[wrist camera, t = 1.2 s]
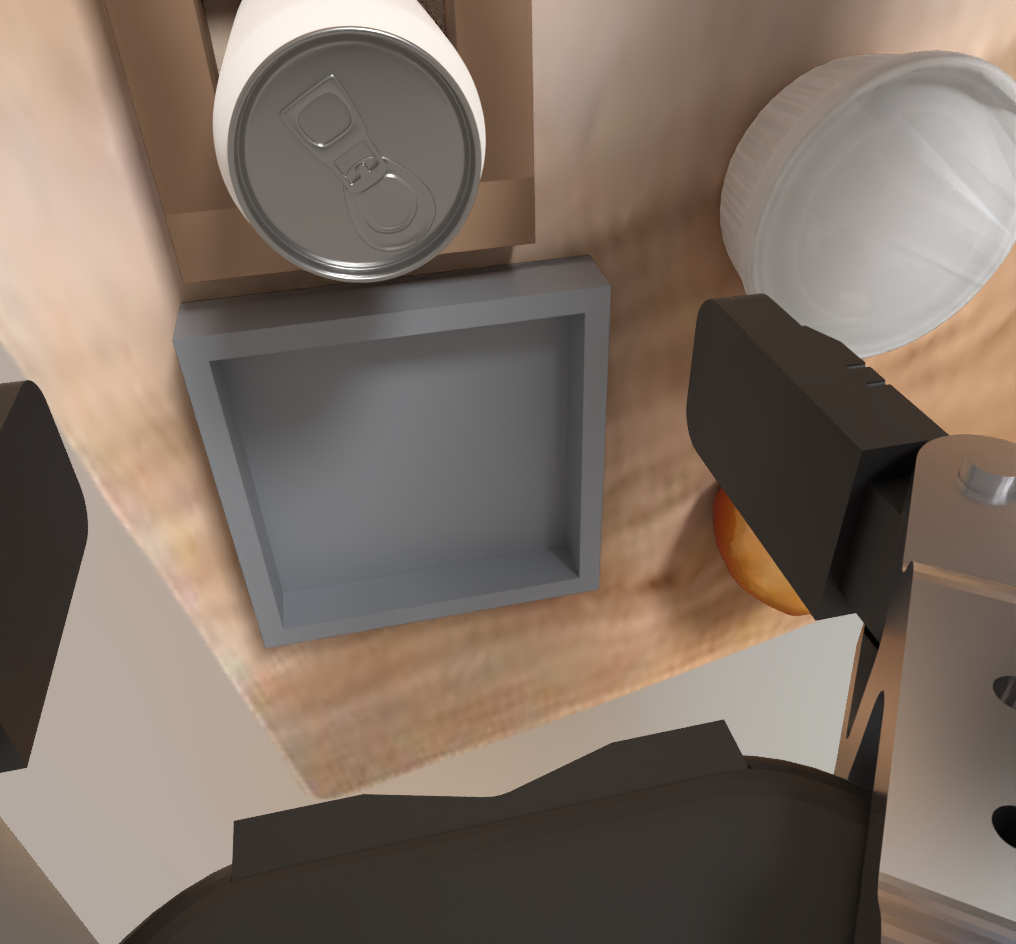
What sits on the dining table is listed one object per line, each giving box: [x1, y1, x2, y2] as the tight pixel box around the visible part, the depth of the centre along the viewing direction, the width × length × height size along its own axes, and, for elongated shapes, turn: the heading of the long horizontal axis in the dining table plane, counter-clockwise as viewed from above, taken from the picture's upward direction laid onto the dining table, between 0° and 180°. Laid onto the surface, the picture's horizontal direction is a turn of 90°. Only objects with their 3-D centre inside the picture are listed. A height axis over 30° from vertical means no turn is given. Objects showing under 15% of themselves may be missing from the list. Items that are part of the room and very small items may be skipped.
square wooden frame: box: [104, 0, 535, 283], centre depth 28 cm, size 12×12×2 cm
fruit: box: [713, 487, 811, 616], centre depth 43 cm, size 8×8×8 cm
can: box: [213, 0, 486, 283], centre depth 24 cm, size 6×6×12 cm
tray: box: [172, 255, 611, 648], centre depth 37 cm, size 16×16×3 cm
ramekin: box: [720, 50, 1016, 359], centre depth 33 cm, size 11×11×5 cm
